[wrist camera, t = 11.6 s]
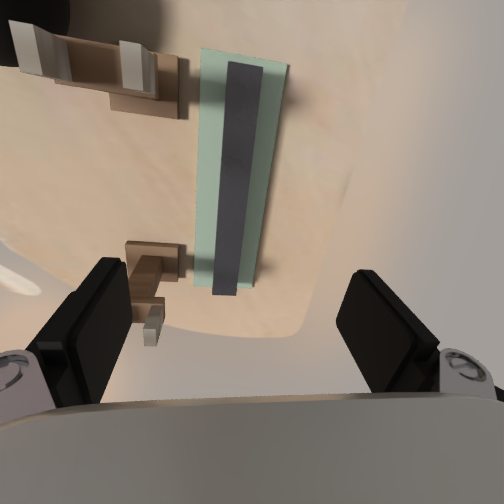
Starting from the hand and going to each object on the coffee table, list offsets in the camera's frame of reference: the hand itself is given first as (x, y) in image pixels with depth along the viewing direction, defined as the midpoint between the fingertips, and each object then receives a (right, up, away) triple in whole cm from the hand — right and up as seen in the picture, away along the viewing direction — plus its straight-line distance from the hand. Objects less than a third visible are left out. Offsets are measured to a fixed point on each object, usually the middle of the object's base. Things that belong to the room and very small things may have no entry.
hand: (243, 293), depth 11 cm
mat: (-2, +8, +19) cm, 21 cm away
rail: (-2, +8, +19) cm, 21 cm away
